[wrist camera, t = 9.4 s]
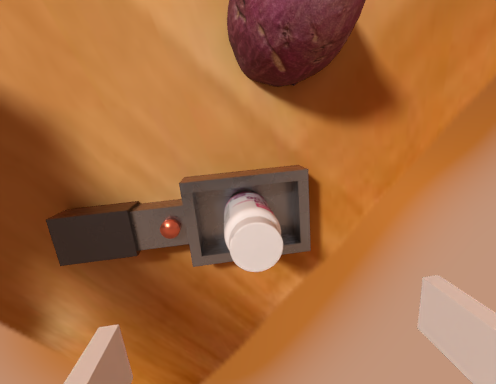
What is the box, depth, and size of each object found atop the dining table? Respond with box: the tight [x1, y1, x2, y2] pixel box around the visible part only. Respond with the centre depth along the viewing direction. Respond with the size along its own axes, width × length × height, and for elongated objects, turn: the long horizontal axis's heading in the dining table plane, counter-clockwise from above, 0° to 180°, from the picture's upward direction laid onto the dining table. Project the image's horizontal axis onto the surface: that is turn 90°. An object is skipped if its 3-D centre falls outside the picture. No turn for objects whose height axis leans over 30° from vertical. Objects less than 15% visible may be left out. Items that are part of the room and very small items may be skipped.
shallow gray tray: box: [46, 165, 311, 267], centre depth 24 cm, size 24×8×3 cm, turn 95°
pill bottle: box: [224, 191, 283, 272], centre depth 22 cm, size 5×5×8 cm
